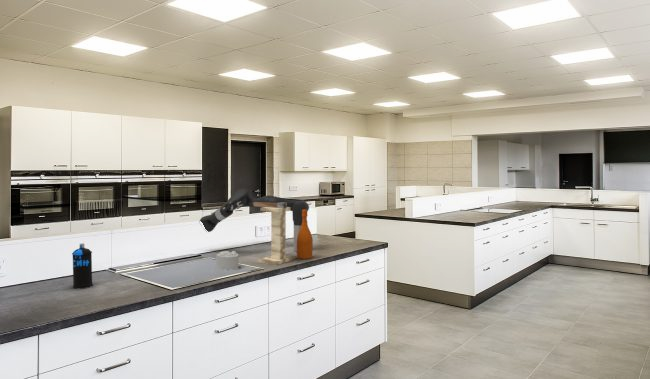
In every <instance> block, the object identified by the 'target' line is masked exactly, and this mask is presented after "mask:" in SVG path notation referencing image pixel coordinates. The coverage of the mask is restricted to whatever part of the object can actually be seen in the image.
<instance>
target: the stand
mask: <svg viewBox="0 0 650 379" xmlns="http://www.w3.org/2000/svg"><path fill="white" fill-rule="evenodd" d="M260 212H265V213H266V212H269V213H271V214H270V216H271V219H270V220H271V221H270V222H271V223H270V224H271V226H270V227H271V230H270V231H271V232H270V234H271V237H270V238H271V240H270V242H271V244H270V245H271V247H270V249H271V252H270V253H271V255H268V256H266V257H262V258H259V259H258V263H260V264H267V265H272V266H278V265H282V264H285V263H288V262H291V261H293V256H290V255H286V253H287V252H286V247H287V246H286V244H287V242H286V239H287V238H286V237H287V236H286V233H287V230H286V228H287V226H286V225H287V224H286V221H287V220H286V219H287V217H286V215H287V214H286V213H287V212H292V211H291V207H287V208H273V207H262V208H260Z"/></svg>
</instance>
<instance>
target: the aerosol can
mask: <svg viewBox="0 0 650 379" xmlns="http://www.w3.org/2000/svg"><path fill="white" fill-rule="evenodd" d="M92 253H93V251H91V250H90V248H85V243H84V242H83V243H79V248H77V249H75V250H73V252H72V253H71V255H72V278H73V280H72V283H73V285H72V288H74V289H77V288H80V289H87V288H86V287H88V288H91V287H92V286H93V285H94V284H93V264H92V263H93V262H92ZM90 286H91V287H90Z"/></svg>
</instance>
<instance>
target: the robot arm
mask: <svg viewBox="0 0 650 379" xmlns="http://www.w3.org/2000/svg"><path fill="white" fill-rule="evenodd" d="M253 202H263V203H280V202H284V203H287V207H291V211H290V212H292V222H293V251H294V252H297V236H298V233H299V231H300V228H301V225H302V219H303V217H302V210H303V209H306V210H307V212H309V210H310V205H309V204H308V202H307V201H305V200H296V199H288V198H285V197H279V196H275V195H264V196H262V197H260V198H256V197H255V198H254V197H250V193H249V190H248V189H247V188H244V187H243V188H239V189H237V190H236V191H235V192H234V193H233V194H232V196H230V197H229V199H228V200H227V201H226V202H224V204H222V205H221V206H220V207H218V208H217V209H216V210H215V211H213V212H212V213H211V214H209V215H204V216H202V217H200V219H199V222H200V221H201V222H202V223H203V225H204V227H205V229H206V230H207V231H208V232H207V231H206V230H205V229H204V230H205V231H206V232H207V233H210V232H213V231H214V230H215V228H216V226H217V225H218V224H219V223H221V222H222V221H224V220H226V219H227V218H229V217H230V216H231V215H233V214H234V211H235V210H239V209H241V208H242V207H252V208H253V207H255V208H257V207H256V206H253ZM258 208H260V209H261V208H262V207H258Z"/></svg>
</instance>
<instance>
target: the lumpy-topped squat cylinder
mask: <svg viewBox="0 0 650 379" xmlns="http://www.w3.org/2000/svg"><path fill="white" fill-rule="evenodd" d="M215 258H216V268H217V269H219V268H220V270H224V269H234V270H237V269H236V268H238V267H240V266H239V262H240V261H239V253H237V252H236V250H232V251H229V250H224V251H220V252H219V253H217V254H216V257H215ZM238 269H239V268H238Z"/></svg>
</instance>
